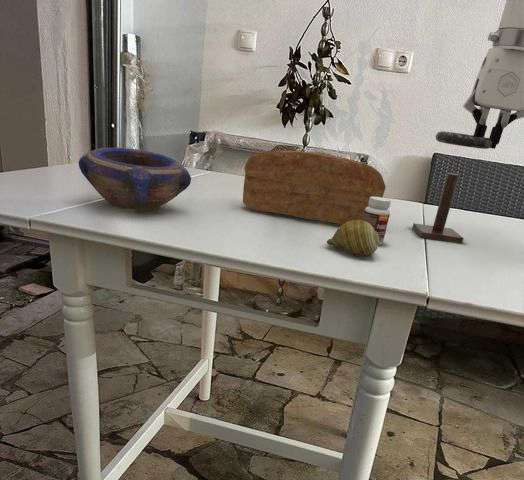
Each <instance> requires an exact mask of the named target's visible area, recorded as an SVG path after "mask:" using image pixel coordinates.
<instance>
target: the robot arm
mask: <svg viewBox="0 0 524 480" xmlns="http://www.w3.org/2000/svg"><path fill="white" fill-rule="evenodd" d="M487 41H490V42H491V43H492V45H491V46H492V47H490V48H489V49H488V51H487V52H486V55H485V56H484V59H483V61H482V63H481V66H480V69H479V70H478V73H477V76H476V79H475V82H474V84H473V86H472V90H471V93H470V95H469V97H468V98H467V99H466V101H465V102H464V103H463V106H462V107H463V109H464V110H466V111H467V112H469V113H470V114H471V115H472V117H473V120H474V121H475V124H476V125H475V129H474V132H473V134H472V135H473V136H475V137H482V138H484V137H486V132H487V129H488V126H487V120H488V117H489V115H490V111H491V109H493V110H499V113H498V116H497V120H496V123H495V125H494V126H492V128H491V131H490V134H489V137H488V138H491V139H492V140H493V145H492V147H491V148H490V149H493V150H496V147H497V145H499V143H500V142H501V138H502V135H503V131H504V128H505V129H506V128H507V127H508V125H510V124H512V123H513V122H514V121H516V120H519V119H523V118H524V0H506V1H505V4H504V8H503V11H502V15H501V19H500V21H499V24H498V28H497V30H496V31H494V32H492V31H491V32H489V34H488V36H487ZM478 107H479V108H478Z"/></svg>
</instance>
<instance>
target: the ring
mask: <svg viewBox="0 0 524 480" xmlns="http://www.w3.org/2000/svg"><path fill="white" fill-rule="evenodd" d="M473 135H474V134H466V133H459V132H453V131H442V130H441V131H437V133H436V134H435V140H436V141H437V142H439V143H443V144H447V145H452V146H460V147H466V148H473V149H481V150H488V149H492V148H491V147H492V145H493V140H492V139H491V138H489V137H486V136H484V138H482V137H475V136H473Z"/></svg>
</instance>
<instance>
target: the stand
mask: <svg viewBox="0 0 524 480" xmlns="http://www.w3.org/2000/svg"><path fill="white" fill-rule="evenodd" d="M459 178H460V174H457V173H452V172H448V173H447V174H446V178H445V182H444V185H443V188H442V192H441V196H440V199H439V203H438V206H437V211H436V214H435V219H434V222H433V225H430V224H429V225H428V224H422V223H416V222H413V224H412V227H411V229H412V230H413V231H414V232H415V233H416V234H417V235H418V236H419V237H420V238H421V239H428V240H434V241H442V242H449V243H455V244H456V243H457V244H463V242H464V237H463V236H462V235H461V234H460V233H458V232H457V231H456V230H454V229H453V228H451V227H446V224H447V220H448V216H449V212H450V210H451V205H452V202H453V199H454V195H455V192H456V188H457V185H458V181H459Z"/></svg>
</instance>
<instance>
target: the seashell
mask: <svg viewBox="0 0 524 480" xmlns="http://www.w3.org/2000/svg"><path fill="white" fill-rule="evenodd" d="M381 239H382V238H381V236H380V235H378V233H377V232H376V231H374V228H373V227H372V225H371V224H369V223H368V222H366V221H362V220H352V221H349V222H346V223H345V224H343V225H342V224H341V225H340V226H339V227H338V228H337V230H336V231H335V233H334V234H333V235H332V237H331V238H328V239H327V240H326V244H327V245H330V246H334V247H336V248H338V249H343V250H344V249H345V250H346V251H347V252H348V253H349V254H351V255H352V256H355V257H358V258H359V257H361V258H362V257H368V256H371V255H372V254H374V253H375V252H376V251H377V250H378V249H379V247H380V245H379V243H380V241H381Z"/></svg>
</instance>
